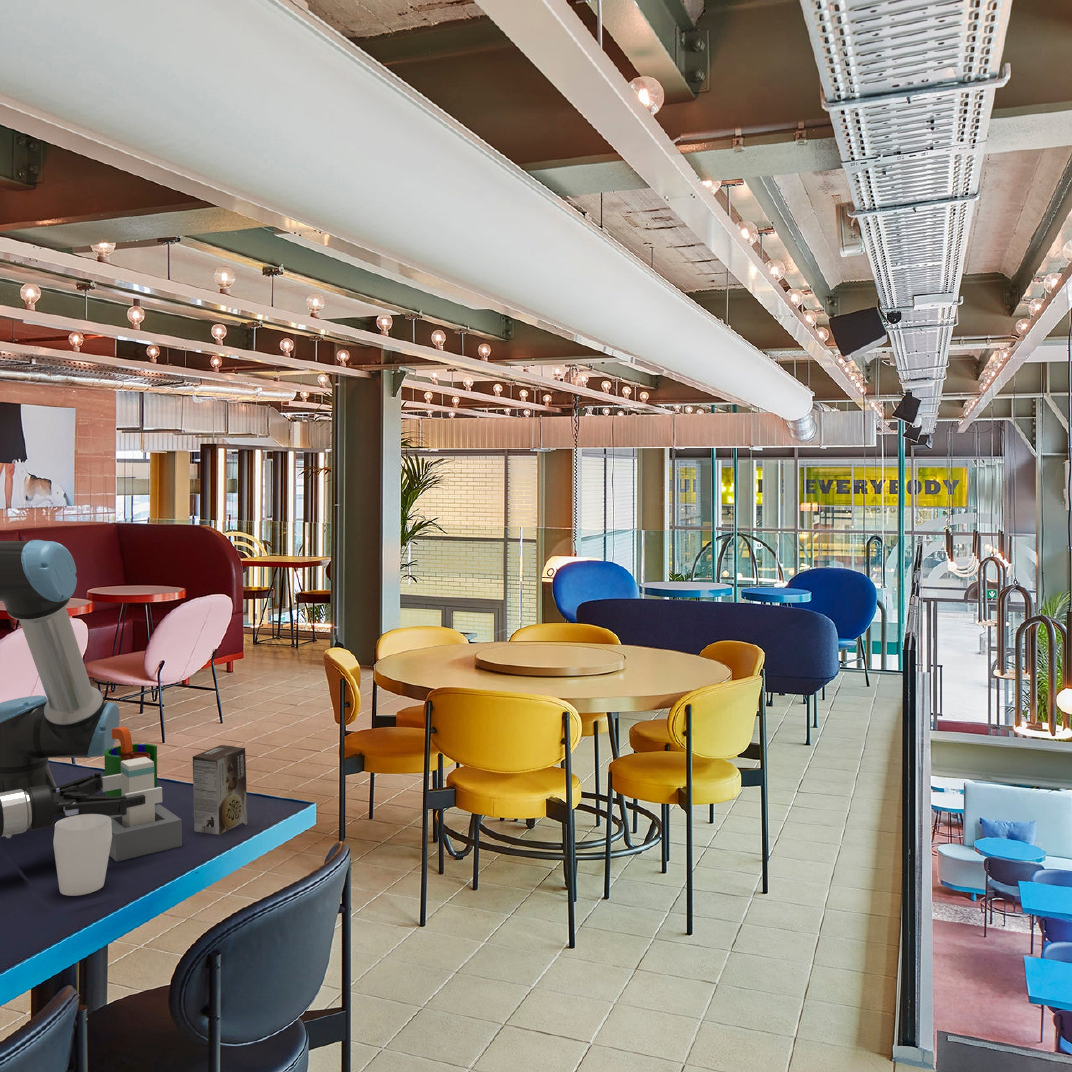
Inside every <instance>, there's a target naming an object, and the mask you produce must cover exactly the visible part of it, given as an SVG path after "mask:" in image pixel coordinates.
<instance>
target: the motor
mask: <svg viewBox="0 0 1072 1072" xmlns="http://www.w3.org/2000/svg"><path fill="white" fill-rule="evenodd" d="M112 739H116V740H119V742H120V745H117V746H113V748H110V749H108V750H106V751H105V752H104V755H105V756H104V777H105V776H111V775H116V774H121V761H125V760H130V759H136V758H142V757H147V758H148V759H150V760H152V761H153V762H154V788H157V787H158V745H155V744H151V743H133V741H132V735H131V731H130V729H129V728H128V727H126V726H119V727H118V728H114V729H112ZM104 796H122V793H121V789H116V790H111V791H106V792H104ZM155 805H158V803H156V804H155ZM117 806H118V807H119V804H118V805H117Z"/></svg>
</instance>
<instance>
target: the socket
mask: <svg viewBox="0 0 1072 1072" xmlns="http://www.w3.org/2000/svg"><path fill="white" fill-rule="evenodd" d="M109 817H110V818H111V825H112V841H111V847H110V852H109V857H110V858H111V859H113V861H115V862H121V861H127V860H129V859H134V858H138V857H142V856H143V857H144V856H146V855H151V854H155V853H159V852H163V851H167V850H170V849H175V848H180V847H183V825H182V824H183V822H182V821H183V820H182V818H181V817H179V816H177V815H176V814H174V813H173V812H171V811H170V810H169V809H167V808H165V807H164V806H163V805H161V804H160V803H157V805H155V822H151V823H146V824H142V825H137V826H133V827H128V828H124V827H123V826H122V815H112V816H109Z"/></svg>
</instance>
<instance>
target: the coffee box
mask: <svg viewBox="0 0 1072 1072" xmlns="http://www.w3.org/2000/svg"><path fill="white" fill-rule="evenodd" d="M246 760H247V759H246V747H238V746H235V745H225V744H221V745H218V746H215V747H213V748H210V749H208V750H204V751H202V752H200V753H198V754H195V755H192V783H193V784H192V786H193V787H192V788H193V789H192V790H193V826H194V828H193V829H194V832H198V833H204V834H209V835H210V834H211V835H212V834H213V835H222V834H224V833H227V832H228V831H230V830H232V829H233V828H236V827H238V826H239V825H241V824H244V825H245V826H247V825H248V799H247V797H248V795H247V794H248V793H247V765H246V764H247V763H246Z"/></svg>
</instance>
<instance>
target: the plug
mask: <svg viewBox="0 0 1072 1072" xmlns="http://www.w3.org/2000/svg"><path fill="white" fill-rule="evenodd" d="M152 788H154V762H153V761H152V760H150V759H148V758H147V757H142V758H136V759H130V760H125V761H121V793H122V796H124V794H127V793H132V792H137V791H142V790H147V789H152ZM151 822H155V804H151V805H146V806H141V807H136V808H132V809H127V814H126V815H123V816H122V826H123V827H124V828H128V827H133V826H137V825H142V824H146V823H151Z"/></svg>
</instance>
